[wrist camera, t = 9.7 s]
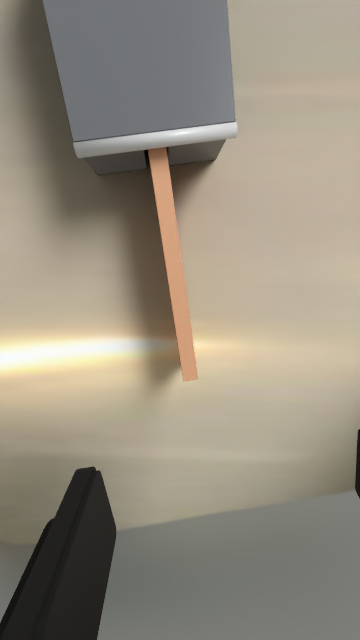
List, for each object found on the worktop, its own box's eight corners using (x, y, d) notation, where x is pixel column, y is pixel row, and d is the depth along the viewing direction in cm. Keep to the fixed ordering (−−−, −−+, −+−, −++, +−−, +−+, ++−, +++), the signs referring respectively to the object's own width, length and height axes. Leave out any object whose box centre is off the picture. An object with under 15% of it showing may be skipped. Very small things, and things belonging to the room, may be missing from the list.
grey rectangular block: (195, -64, 17) (211, -231, 11) (216, 169, 20) (237, 133, 15) (52, -50, 16) (-6, -216, 11) (100, 185, 20) (75, 154, 14)
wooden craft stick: (161, 140, 19) (161, 110, 15) (192, 360, 23) (198, 379, 20) (146, 142, 19) (142, 113, 15) (180, 362, 23) (183, 381, 20)
